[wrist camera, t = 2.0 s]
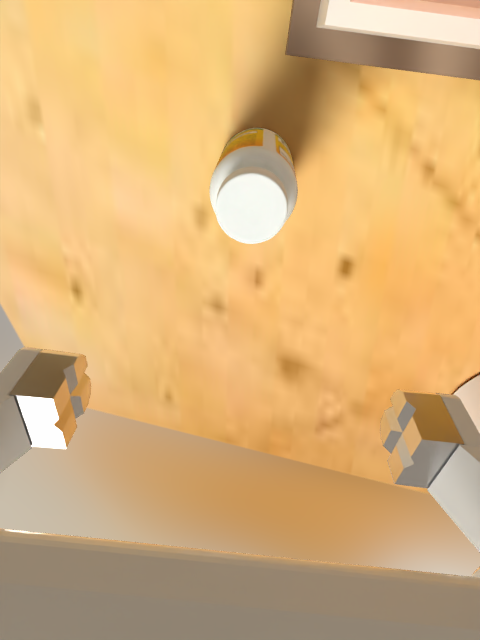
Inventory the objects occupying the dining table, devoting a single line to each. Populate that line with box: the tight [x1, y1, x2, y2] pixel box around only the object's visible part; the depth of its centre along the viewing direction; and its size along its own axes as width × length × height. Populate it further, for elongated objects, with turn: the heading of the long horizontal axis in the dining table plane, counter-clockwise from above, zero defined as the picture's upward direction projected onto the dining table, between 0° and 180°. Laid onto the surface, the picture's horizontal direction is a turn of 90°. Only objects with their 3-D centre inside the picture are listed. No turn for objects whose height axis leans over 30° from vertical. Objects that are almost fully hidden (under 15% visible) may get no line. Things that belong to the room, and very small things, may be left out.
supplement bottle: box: [210, 128, 298, 244], centre depth 25 cm, size 5×5×10 cm
